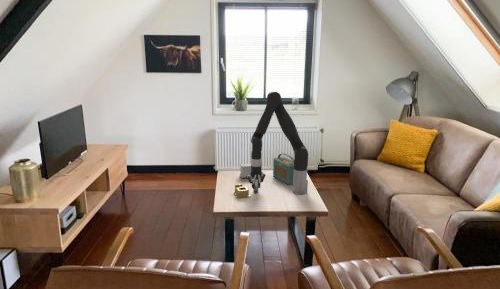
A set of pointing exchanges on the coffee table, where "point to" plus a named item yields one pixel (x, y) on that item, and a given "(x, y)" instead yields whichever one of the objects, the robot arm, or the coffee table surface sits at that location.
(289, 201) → the coffee table surface
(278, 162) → the radio
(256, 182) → the silver round-ended rod
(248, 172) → the toy vehicle
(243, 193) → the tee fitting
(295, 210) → the coffee table surface
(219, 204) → the coffee table surface
